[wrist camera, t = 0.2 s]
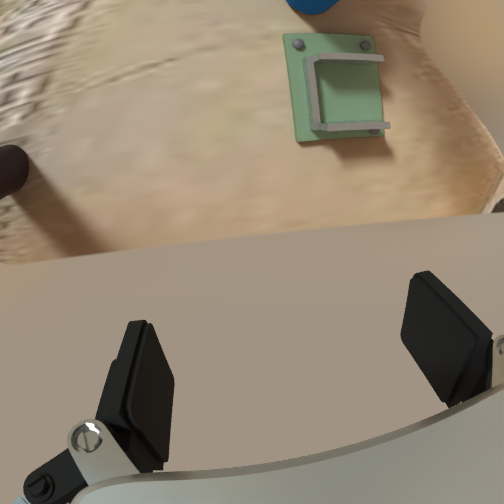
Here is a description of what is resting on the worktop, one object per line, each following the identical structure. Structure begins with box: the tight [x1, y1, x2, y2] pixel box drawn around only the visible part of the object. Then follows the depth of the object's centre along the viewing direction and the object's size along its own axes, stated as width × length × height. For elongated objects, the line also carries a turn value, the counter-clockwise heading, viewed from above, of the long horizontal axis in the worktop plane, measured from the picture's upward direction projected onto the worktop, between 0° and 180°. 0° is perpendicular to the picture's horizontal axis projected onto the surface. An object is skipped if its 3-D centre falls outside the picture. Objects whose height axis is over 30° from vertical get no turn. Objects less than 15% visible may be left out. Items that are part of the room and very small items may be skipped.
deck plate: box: [283, 33, 384, 142], centre depth 34 cm, size 14×12×1 cm
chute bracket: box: [302, 52, 390, 131], centre depth 32 cm, size 9×9×4 cm
